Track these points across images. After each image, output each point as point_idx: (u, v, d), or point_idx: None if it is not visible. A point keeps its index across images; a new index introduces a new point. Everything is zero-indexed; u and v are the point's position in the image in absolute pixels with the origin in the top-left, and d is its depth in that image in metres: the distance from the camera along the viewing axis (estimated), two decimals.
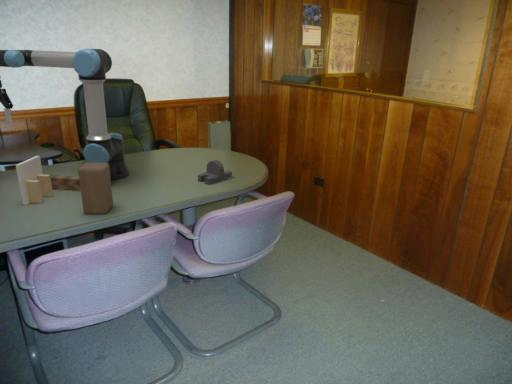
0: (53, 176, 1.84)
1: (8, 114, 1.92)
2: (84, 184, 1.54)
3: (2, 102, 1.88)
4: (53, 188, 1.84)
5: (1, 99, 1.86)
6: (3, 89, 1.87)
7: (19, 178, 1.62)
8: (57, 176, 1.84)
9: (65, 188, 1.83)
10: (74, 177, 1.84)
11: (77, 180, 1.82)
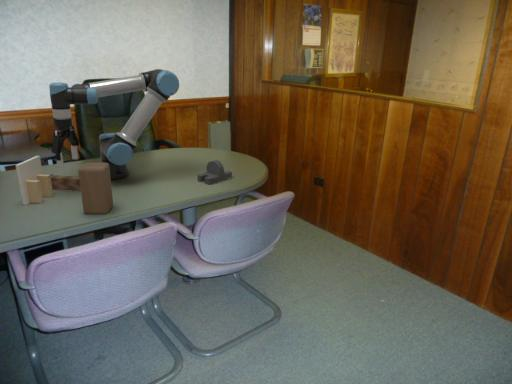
0: (53, 176, 1.84)
1: (75, 151, 1.85)
2: (84, 184, 1.54)
3: (70, 140, 1.82)
4: (53, 188, 1.84)
5: (70, 137, 1.80)
6: (72, 127, 1.80)
7: (19, 178, 1.62)
8: (57, 176, 1.84)
9: (65, 188, 1.83)
10: (74, 177, 1.84)
11: (77, 180, 1.82)
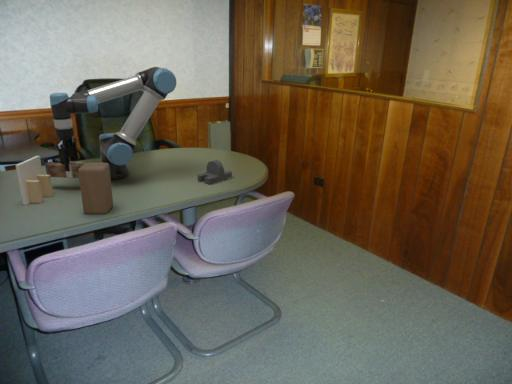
0: (52, 163, 1.82)
1: None
2: (84, 184, 1.54)
3: (70, 152, 1.81)
4: (52, 175, 1.82)
5: (70, 148, 1.80)
6: (74, 138, 1.82)
7: (19, 178, 1.62)
8: (56, 163, 1.82)
9: (64, 175, 1.82)
10: (73, 164, 1.82)
11: (76, 167, 1.80)
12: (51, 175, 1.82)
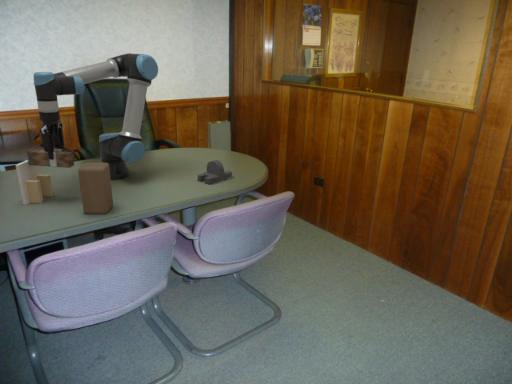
0: (35, 150, 1.65)
1: None
2: (84, 184, 1.54)
3: (55, 139, 1.64)
4: (34, 164, 1.65)
5: (55, 134, 1.63)
6: (60, 124, 1.66)
7: (19, 178, 1.62)
8: (39, 150, 1.65)
9: (48, 164, 1.64)
10: (58, 152, 1.65)
11: (61, 155, 1.63)
12: (33, 163, 1.65)
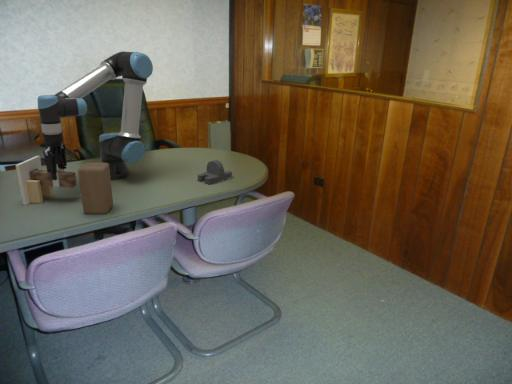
0: (38, 171, 1.68)
1: None
2: (84, 184, 1.54)
3: (58, 159, 1.68)
4: None
5: (58, 155, 1.66)
6: (63, 144, 1.69)
7: (19, 178, 1.62)
8: (42, 171, 1.68)
9: (51, 184, 1.68)
10: (61, 172, 1.68)
11: (63, 176, 1.66)
12: None
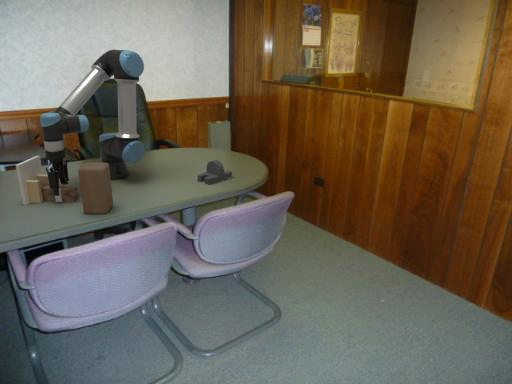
0: None
1: None
2: (84, 184, 1.54)
3: (60, 175, 1.70)
4: None
5: (61, 171, 1.69)
6: (65, 160, 1.72)
7: (19, 178, 1.62)
8: (45, 186, 1.71)
9: (53, 199, 1.70)
10: (63, 187, 1.71)
11: (66, 191, 1.68)
12: None
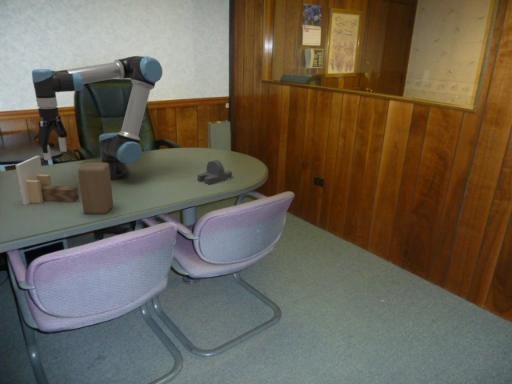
0: None
1: (62, 143, 1.74)
2: (84, 184, 1.54)
3: (57, 131, 1.70)
4: None
5: (56, 128, 1.68)
6: (58, 117, 1.69)
7: (19, 178, 1.62)
8: (45, 186, 1.71)
9: (53, 199, 1.70)
10: (63, 187, 1.71)
11: (66, 191, 1.68)
12: None
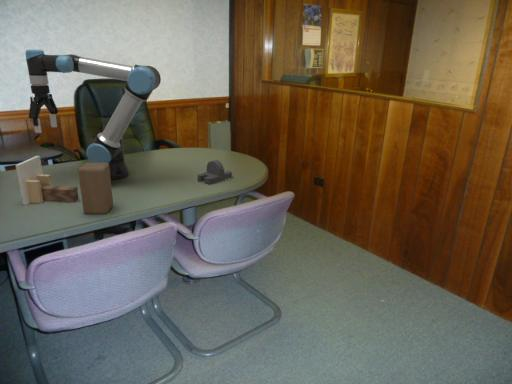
0: None
1: (53, 119, 1.90)
2: (84, 184, 1.54)
3: (48, 107, 1.86)
4: None
5: (48, 104, 1.84)
6: (49, 94, 1.85)
7: (19, 178, 1.62)
8: (45, 186, 1.71)
9: (53, 199, 1.70)
10: (63, 187, 1.71)
11: (66, 191, 1.68)
12: None
